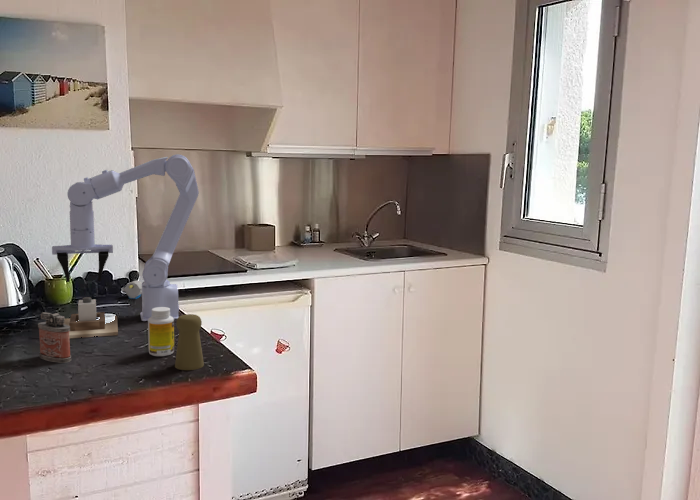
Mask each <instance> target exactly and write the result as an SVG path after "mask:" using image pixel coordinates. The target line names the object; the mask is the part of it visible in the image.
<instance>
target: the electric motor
mask: <svg viewBox="0 0 700 500" xmlns="http://www.w3.org/2000/svg"><path fill="white" fill-rule="evenodd" d="M142 283H143V282H142V281H140V280H133V281H131V282H129V283H127V284H126V286H125V287H122V288H121V291H122V292H125V294H126V295H127V296H128V299H129V300H130V299H131V300H137V299H139V298H142Z"/></svg>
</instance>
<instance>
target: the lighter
mask: <svg viewBox="0 0 700 500" xmlns="http://www.w3.org/2000/svg"><path fill="white" fill-rule="evenodd" d="M40 319H41V320H45V321H43V322H38V323H37V328H38V333H39V334H38V335H39V351H40V352H39V353H38V355H39V356H38V357H39V359H42V360H43V361H44V360H45V361H48V362H53V363H59V364H61V363H62V364H65V363H69V362H71V361H72V355H71V344H70V343H71V342H70V339H71V338H70V337H69V330H70V326H68V325H65V324H64V319H65V316H63V315H60V313H58V312H55V313H51V312H46V311H45V312H41V313H40Z"/></svg>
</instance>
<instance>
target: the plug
mask: <svg viewBox="0 0 700 500" xmlns="http://www.w3.org/2000/svg"><path fill="white" fill-rule="evenodd" d="M96 301H97V299H92V297H90V296H88V297H87V296H86V297H83V298H82V299H78V304H77V305H78V306H77V309H78V311H77V314H79V321H94V320H96V313H97V302H96Z"/></svg>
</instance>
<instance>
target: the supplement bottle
mask: <svg viewBox="0 0 700 500" xmlns="http://www.w3.org/2000/svg"><path fill="white" fill-rule="evenodd" d="M147 339H148V340H147V341H148V353H149V355H151V356H153V357H166V356H167V357H168V356H170V355H172V354H174V352H175V319H174V318H173V317H172V316H170V308H168V307H156V308H153V309H152V317H150V318H149V319H148V321H147Z"/></svg>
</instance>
